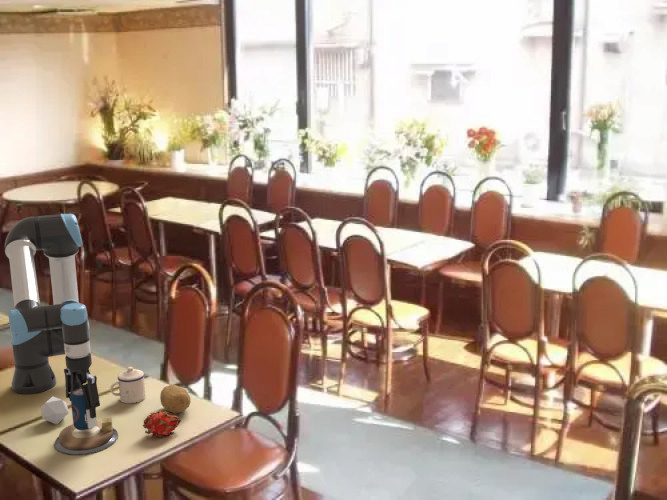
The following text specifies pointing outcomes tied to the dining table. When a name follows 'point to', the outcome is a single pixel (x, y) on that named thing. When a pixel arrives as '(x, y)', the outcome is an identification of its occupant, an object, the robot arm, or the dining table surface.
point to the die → (54, 410)
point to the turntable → (86, 436)
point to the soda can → (79, 410)
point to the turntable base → (86, 451)
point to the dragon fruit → (160, 423)
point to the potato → (175, 398)
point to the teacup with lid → (130, 386)
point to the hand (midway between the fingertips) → (85, 423)
